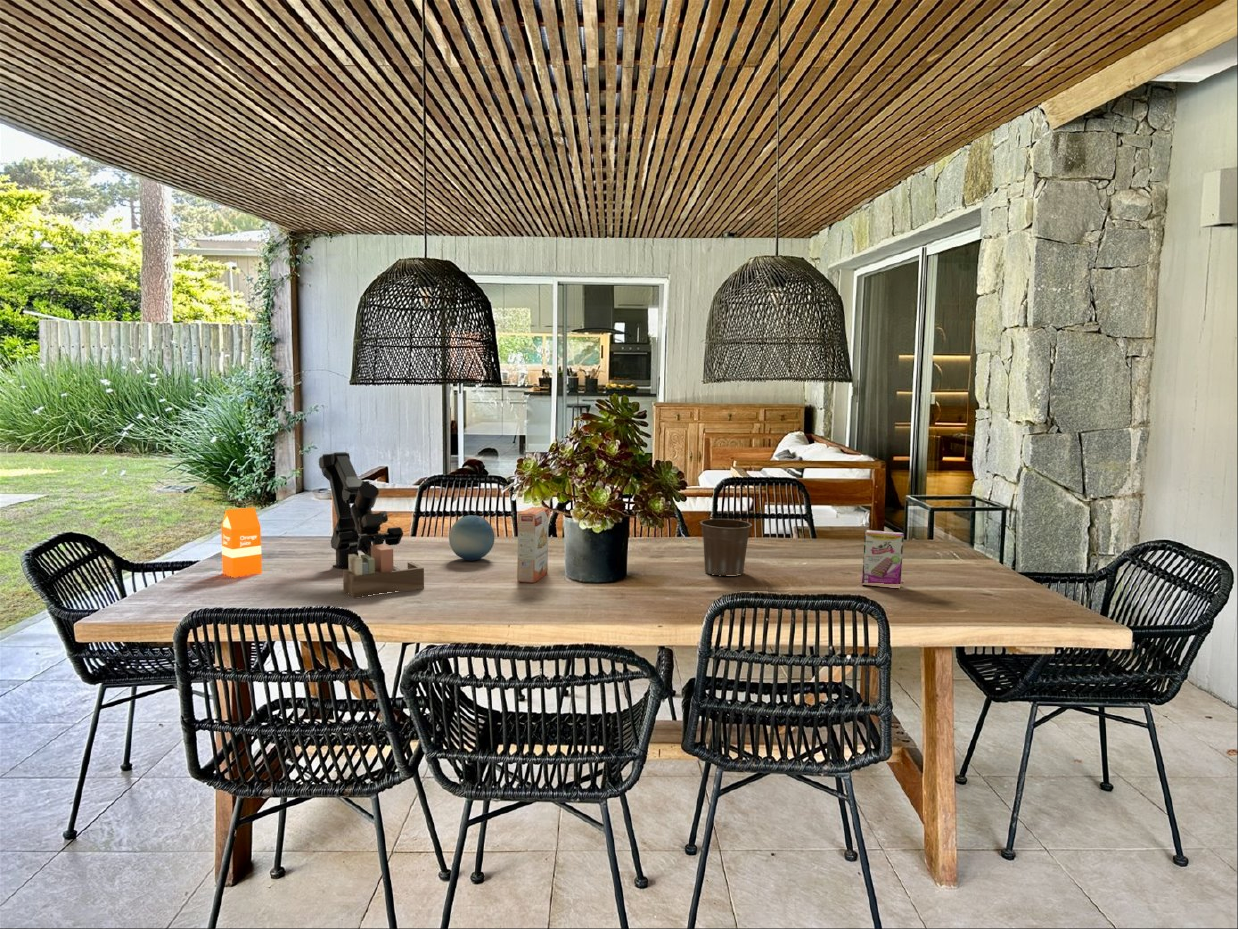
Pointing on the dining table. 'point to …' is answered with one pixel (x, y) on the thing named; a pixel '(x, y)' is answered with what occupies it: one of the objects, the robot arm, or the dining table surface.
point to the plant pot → (725, 545)
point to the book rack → (379, 577)
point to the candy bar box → (882, 557)
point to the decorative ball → (471, 537)
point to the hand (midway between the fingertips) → (376, 562)
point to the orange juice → (241, 542)
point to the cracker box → (532, 544)
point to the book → (382, 557)
